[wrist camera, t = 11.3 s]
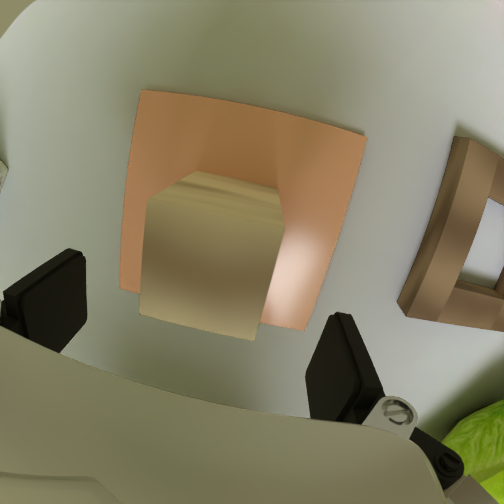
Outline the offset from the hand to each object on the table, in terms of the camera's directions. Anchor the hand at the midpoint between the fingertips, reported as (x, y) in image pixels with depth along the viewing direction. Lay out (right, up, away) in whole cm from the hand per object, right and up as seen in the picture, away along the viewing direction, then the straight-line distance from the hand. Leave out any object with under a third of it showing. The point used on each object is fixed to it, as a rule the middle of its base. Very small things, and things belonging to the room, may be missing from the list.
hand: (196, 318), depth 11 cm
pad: (+1, +5, +9) cm, 10 cm away
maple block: (+1, +4, +8) cm, 9 cm away
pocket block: (+21, +3, +8) cm, 23 cm away
